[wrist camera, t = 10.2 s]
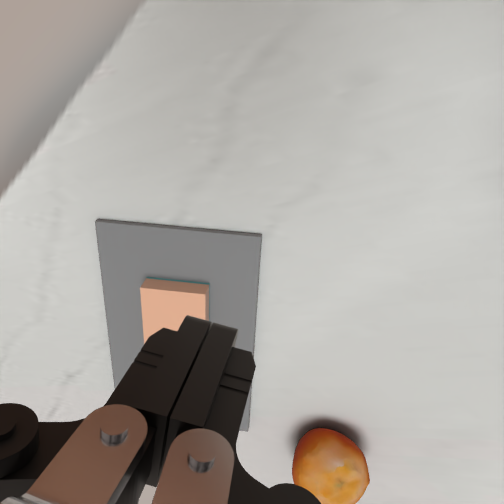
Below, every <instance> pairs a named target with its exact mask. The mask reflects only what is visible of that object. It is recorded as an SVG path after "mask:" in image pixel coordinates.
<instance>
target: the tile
mask: <svg viewBox="0 0 504 504" xmlns="http://www.w3.org/2000/svg"><path fill="white" fill-rule="evenodd" d="M140 294H141V307H142V321H143V335H144V344H145V342H146V341H147V339H148V338H149V336H151V335H153V334H154V333H156V332H157V331H159V330H160V329H162V328H167V329H171V330H174V331H178V329H179V327H180V325H181V324H182V322H183V320H184V318H185V317H186V316H187V315H189V316H193V317H196V318H200V319H204V320H207V321H209V311H210V283H203V282H194V281H184V280H174V279H164V278H154V277H147V278H146V279H145V281H144V282H143V284H142V285H141V287H140Z"/></svg>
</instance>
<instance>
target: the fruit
mask: <svg viewBox="0 0 504 504" xmlns="http://www.w3.org/2000/svg"><path fill="white" fill-rule="evenodd" d="M292 475H293V481H294V484H295V485H298V486H301V487H303V488H305V489H307V490H308V491H310V492H311V493H312V494H313V495H314V496H315V497H316V498H317V499H318V500H319V501H320V503H321V504H355V503H356V502H357V501H359V499H360V498H361V497H362V495H363V494H364V492H365V490H366V488H367V486H368V484H369V482H370V479H369V473H368V467H367V463H366V459H365V457H364V455H363V453H362V451H361V450H360V449H359V448H358V446H357V445H356V444H355V443H354V442H353V441H352V440H350V439H349V438H347V437H346V436H344V435H343V434H341V433H339V432H337V431H334V430H330V429H325V428H316V429H312V430H309V431H308V432H307V433H306V434H305V435H304V436H303V437H302V438H301V439H300V440H299V442H298V445H297V447H296V450H295V453H294V459H293V466H292Z"/></svg>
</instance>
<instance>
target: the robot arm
mask: <svg viewBox="0 0 504 504" xmlns="http://www.w3.org/2000/svg"><path fill="white" fill-rule="evenodd" d="M237 335H238V329H236V328H232V327H229V326H225V325H221V324H218V323H213V324H212V322H211V321H207V320H204V319H200V318H196V317H193V316H189V315H187V316H186V317H185V318H184V320H183V322H182V324H181V325H180V327H179V329H178V331H174V330H171V329H167V328H162V329H160V330H159V331H157V332H156V333H154V334H153V335H151V336H149V338H148V339H147V341H146V342H145V344H144V345H143V347H142V349H141V351H140V352H139V353H138V355H137V356H136V358H135V359H134V362H133V363H132V364H131V366H130V367H129V369H128V370H127V372H126V373H125V375H124V376H123V378H122V379H121V381H120V383H119V384H118V386H117V387H116V389H115V390H114V392H113V393H112V395H111V396H110V398H109V400H108V401H107V403H106V404H105V405H104V406H103V407H101V408H98V409H96V410H95V411H93V412H92V413H90V414H89V415H88V416H87V417H86V418H84V419H81V420H78V421H72V422H38V418H37V415H36V414H35V413H34V411H32V410H31V409H30V408H28V407H26V406H24V405H21V404H15V403H6V404H0V504H138V501H139V498H140V495H141V493H142V491H143V488H144V486H145V484H147V485H151V486H154V487H157V489H156V492H155V495H154V498H153V501H152V504H321V503H320V501H319V500H318V499H317V498H316V497H315V496H314V495H313V494H312V493H311V492H310V491H308V490H307V489H305V488H303V487H301V486H298V485H295V484H288V483H284V484H278V485H275V486H273V487H271V488H270V489H269V488H267V487H266V486H264V485H263V484H261V483H260V482H258V481H257V480H255V479H254V478H253V477H252V476H250V475H249V474H248V473H247V472H246V471H245V469H244V468H243V467H242V465H241V464H240V462H239V459H238V457H237V453H236V441H237V437H238V433H239V429H240V425H241V421H242V417H243V413H244V410H245V406H246V402H247V398H248V394H249V390H250V386H251V383H252V379H253V375H254V371H255V367H256V366H255V362H254V359H253V355H252V352H250V351H246V350H243V349H239V348H235V344H236V339H237Z"/></svg>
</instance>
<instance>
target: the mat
mask: <svg viewBox="0 0 504 504" xmlns="http://www.w3.org/2000/svg"><path fill="white" fill-rule="evenodd" d="M95 226H96V234H97V243H98V251H99V259H100V268H101V276H102V285H103V293H104V302H105V310H106V319H107V327H108V336H109V344H110V353H111V361H112V370H113V378H114V387H115V389H116V387H117V386H118V384H119V383H120V381H121V379H122V378H123V376H124V375H125V373H126V372H127V370H128V369H129V367H130V366H131V364H132V363H133V362H134V359H135V358H136V356H137V355H138V353H139V352H140V351H141V349H142V347H143V345H144V335H143V321H142V307H141V294H140V287H141V285H142V284H143V282H144V281H145V279H146V278H147V277H154V278H164V279H174V280H184V281H194V282H203V283H210V311H209V321H211V322H212V324H213V323H218V324H221V325H225V326H229V327H232V328H236V329H238V335H237V339H236V344H235V348H239V349H243V350H246V351H250V352H252V355H253V356H254V341H255V326H256V311H257V297H258V282H259V267H260V252H261V237H262V234H253V233H242V232H231V231H220V230H210V229H199V228H188V227H177V226H167V225H156V224H145V223H134V222H124V221H113V220H102V219H97V220H96V221H95ZM251 385H252V383H251ZM250 400H251V386H250V390H249V394H248V398H247V402H246V406H245V410H244V413H243V417H242V421H241V425H240V429H239V430H240V431H248V428H249V415H250Z"/></svg>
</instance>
